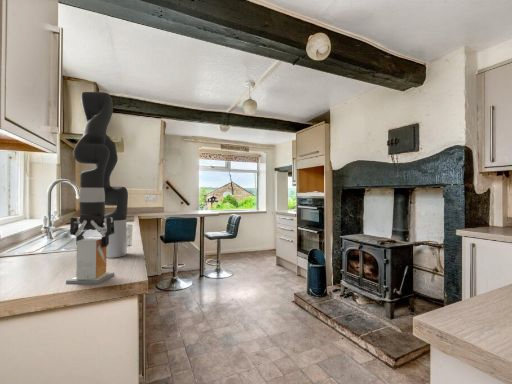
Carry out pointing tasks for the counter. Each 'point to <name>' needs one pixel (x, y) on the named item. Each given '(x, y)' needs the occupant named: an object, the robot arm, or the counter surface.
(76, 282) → the board
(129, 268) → the counter surface
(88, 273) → the small box
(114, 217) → the robot arm
